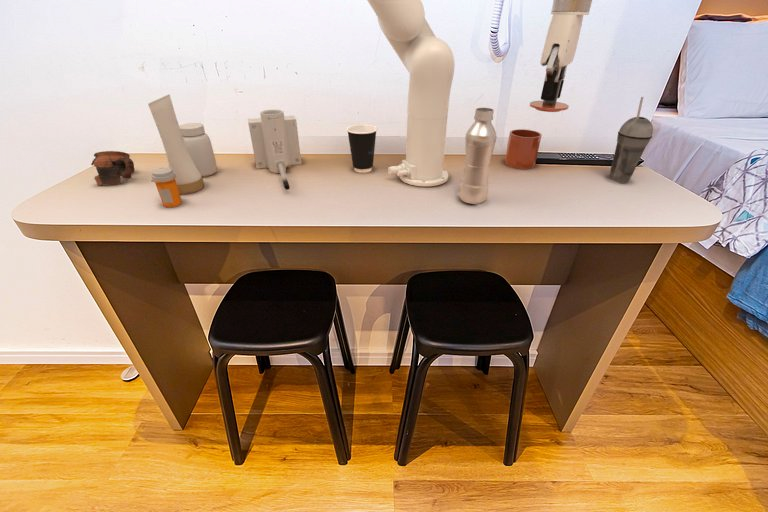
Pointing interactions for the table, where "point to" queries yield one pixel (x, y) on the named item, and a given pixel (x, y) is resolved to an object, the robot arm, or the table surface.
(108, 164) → the pottery mug
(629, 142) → the beverage cup
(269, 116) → the electronic device
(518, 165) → the storage jar
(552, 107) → the jar lid
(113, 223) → the table surface
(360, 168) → the dixie cup
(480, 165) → the metal water bottle
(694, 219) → the table surface
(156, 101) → the toiletry set
